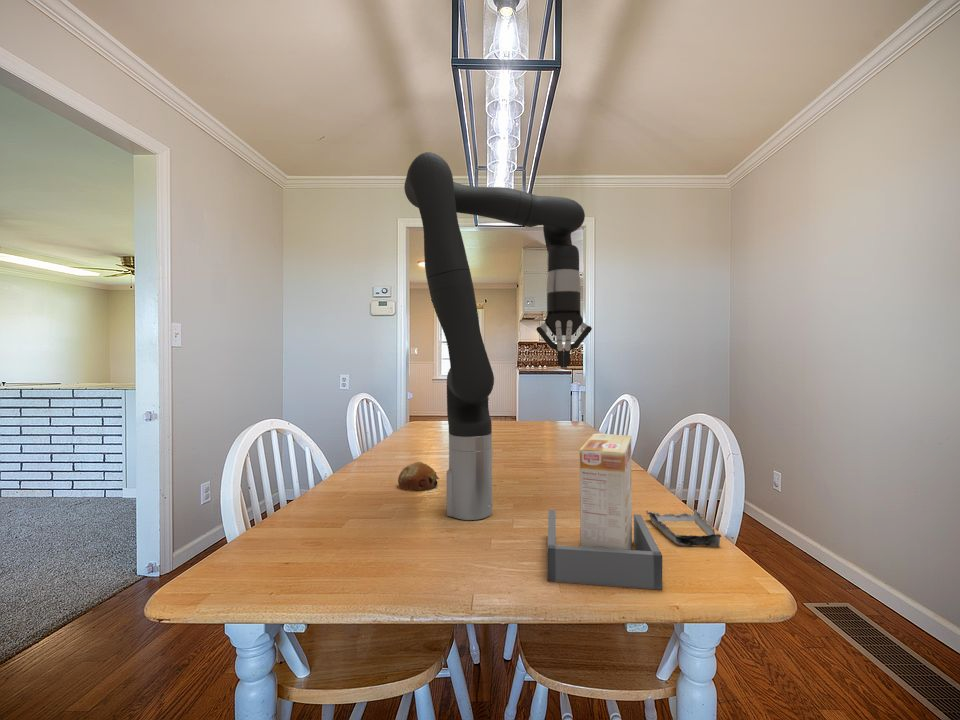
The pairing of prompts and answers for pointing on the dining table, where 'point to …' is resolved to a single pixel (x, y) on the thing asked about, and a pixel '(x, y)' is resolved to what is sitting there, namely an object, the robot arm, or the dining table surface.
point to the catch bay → (606, 561)
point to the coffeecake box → (606, 492)
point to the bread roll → (417, 477)
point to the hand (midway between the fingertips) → (563, 367)
